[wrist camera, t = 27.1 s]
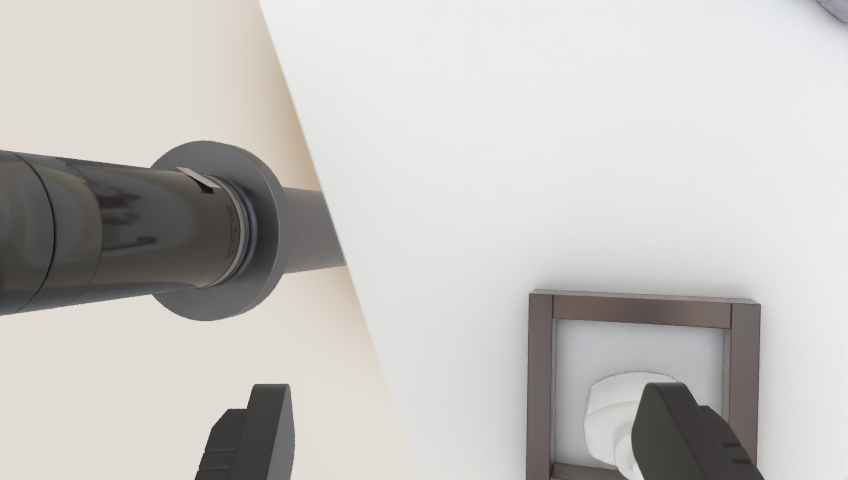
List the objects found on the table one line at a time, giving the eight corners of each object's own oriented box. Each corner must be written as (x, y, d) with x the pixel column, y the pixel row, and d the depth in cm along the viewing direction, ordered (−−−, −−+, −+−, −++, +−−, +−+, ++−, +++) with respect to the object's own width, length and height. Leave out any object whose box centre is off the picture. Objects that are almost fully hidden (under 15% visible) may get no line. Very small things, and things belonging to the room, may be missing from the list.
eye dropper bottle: (604, 348, 39) (597, 399, 27) (693, 384, 37) (725, 454, 26) (580, 409, 39) (564, 484, 28) (667, 447, 38) (687, 543, 26)
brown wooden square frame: (531, 481, 40) (525, 496, 38) (534, 289, 40) (528, 293, 38) (746, 512, 36) (755, 532, 34) (751, 299, 36) (761, 304, 34)
